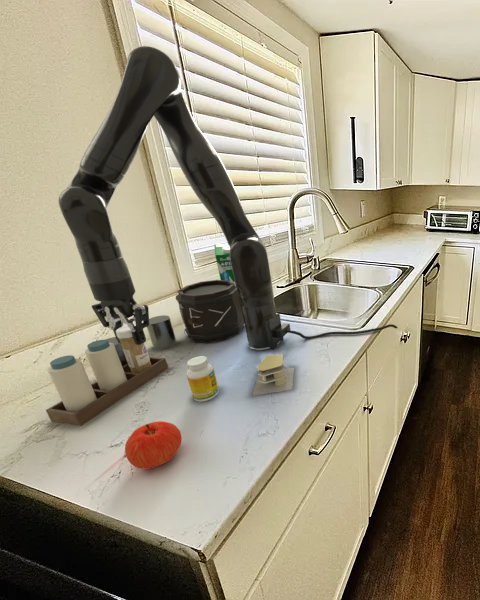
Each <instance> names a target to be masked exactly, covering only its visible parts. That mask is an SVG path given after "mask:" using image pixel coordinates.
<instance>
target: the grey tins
mask: <svg viewBox="0 0 480 600" xmlns="http://www.w3.org/2000/svg"><path fill="white" fill-rule="evenodd" d="M146 329H147V333H148V336H149V339H150V342H151V345H152V348H153V349H154V350H155V351H156V350H157V351H158V350H159V351H160V350H166V349H169V348H172V347H174V346H176V344H177V343H178V341H177V338H176V334H175V331H174V327H173V324H172V320H171V317H170V315H166V314H163V315H157V316H153V317H149V326H147V327H146ZM104 340H108V342H109V343H113V344H114V346H115V349H116V352H117V354H118V357H119V360H120V362H121V365H122V366H124V365H126V364H128V362H127V359H126V357H125V354H124V351H123V348H122V345H121V343H118V341H117V339H116V337H115V336H114V337H113V336H112V337H108V338H105V339H104Z"/></svg>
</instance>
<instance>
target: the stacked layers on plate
mask: <svg viewBox="0 0 480 600" xmlns="http://www.w3.org/2000/svg"><path fill="white" fill-rule="evenodd" d="M256 369H257V370H258V372H257V378H256V381H255V385H254V388H253V392H252V397H254V396H260V395H261V396H262V395H266V394H273V393H278V392H285V391H292V390H293V384H294V383H293V382H294V369H295V368H294V367H288V368H285V364H284V358H283V354H282V353H279V354H278V353H277V354H269V355H265V356H264V358H263V359H262V360H261V362H259V364H258V365H257V367H256Z"/></svg>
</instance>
